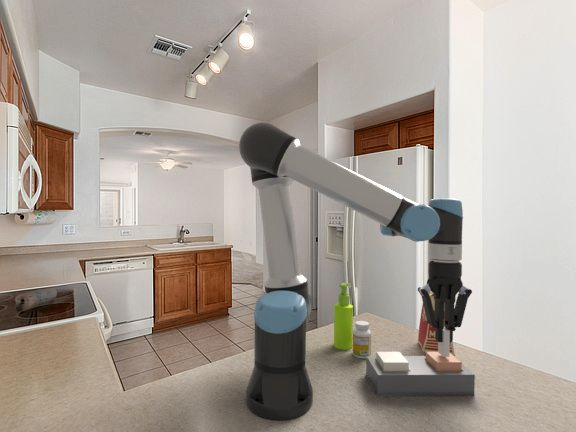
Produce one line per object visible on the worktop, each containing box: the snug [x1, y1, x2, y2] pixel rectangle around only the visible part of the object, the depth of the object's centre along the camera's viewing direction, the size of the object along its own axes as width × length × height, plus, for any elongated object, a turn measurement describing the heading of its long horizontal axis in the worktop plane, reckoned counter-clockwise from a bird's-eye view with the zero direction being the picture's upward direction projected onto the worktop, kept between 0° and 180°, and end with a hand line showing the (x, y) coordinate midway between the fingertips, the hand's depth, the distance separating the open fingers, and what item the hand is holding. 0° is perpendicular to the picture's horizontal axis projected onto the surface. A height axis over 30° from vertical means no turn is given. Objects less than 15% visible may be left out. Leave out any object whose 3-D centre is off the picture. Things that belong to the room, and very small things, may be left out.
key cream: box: [375, 351, 409, 372], centre depth 81 cm, size 6×6×4 cm
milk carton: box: [417, 290, 456, 356], centre depth 103 cm, size 9×9×20 cm
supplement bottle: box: [352, 320, 372, 359], centre depth 97 cm, size 5×5×10 cm
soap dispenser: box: [333, 282, 354, 351], centre depth 104 cm, size 6×7×20 cm
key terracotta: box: [425, 352, 463, 371], centre depth 81 cm, size 6×6×4 cm
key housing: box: [365, 355, 476, 397], centre depth 81 cm, size 23×10×5 cm, turn 92°
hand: (443, 354), depth 81 cm, fingers closed
